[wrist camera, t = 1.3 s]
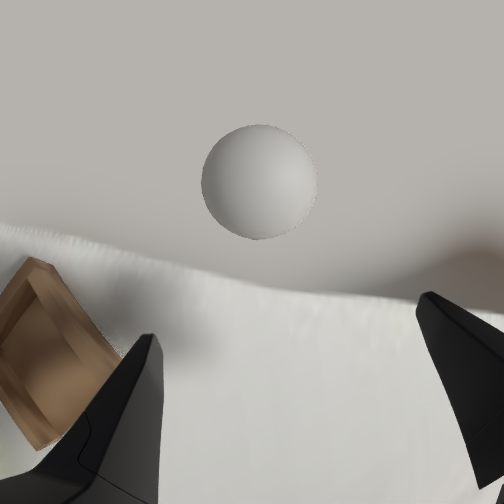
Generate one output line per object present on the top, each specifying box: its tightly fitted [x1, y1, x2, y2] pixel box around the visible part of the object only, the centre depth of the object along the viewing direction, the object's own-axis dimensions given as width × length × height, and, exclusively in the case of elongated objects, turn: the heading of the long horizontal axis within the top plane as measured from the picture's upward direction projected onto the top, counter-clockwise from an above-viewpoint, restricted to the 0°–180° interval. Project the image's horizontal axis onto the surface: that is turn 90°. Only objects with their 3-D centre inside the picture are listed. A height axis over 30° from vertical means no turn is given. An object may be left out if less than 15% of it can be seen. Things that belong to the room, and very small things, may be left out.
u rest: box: [0, 257, 122, 451], centre depth 19 cm, size 11×11×4 cm
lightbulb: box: [201, 125, 317, 240], centre depth 19 cm, size 6×6×11 cm
